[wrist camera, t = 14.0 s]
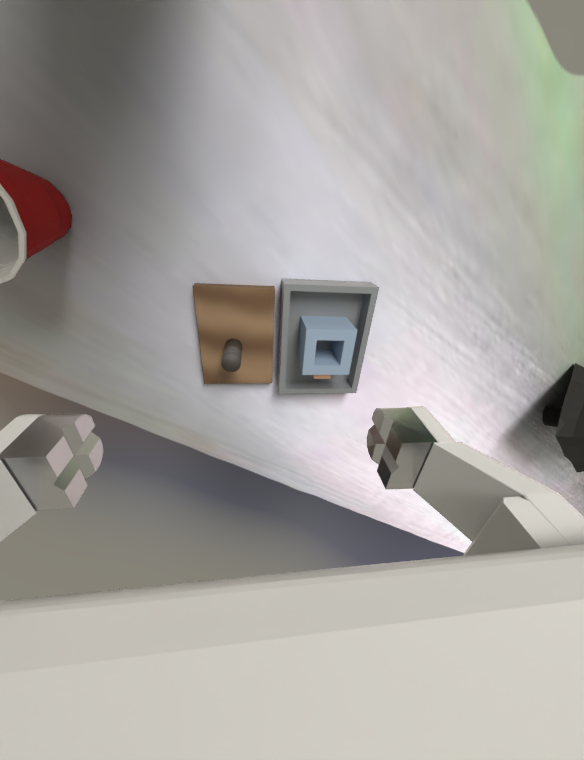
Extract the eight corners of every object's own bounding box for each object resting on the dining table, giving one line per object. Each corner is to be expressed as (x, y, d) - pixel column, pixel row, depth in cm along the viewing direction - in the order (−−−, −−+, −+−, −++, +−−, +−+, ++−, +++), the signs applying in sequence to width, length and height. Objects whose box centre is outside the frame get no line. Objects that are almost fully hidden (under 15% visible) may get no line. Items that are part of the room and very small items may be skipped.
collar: (300, 315, 38) (306, 329, 34) (346, 316, 39) (357, 330, 35) (296, 366, 43) (301, 384, 38) (338, 366, 44) (347, 383, 39)
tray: (282, 278, 36) (284, 283, 34) (370, 282, 38) (378, 287, 35) (277, 383, 45) (279, 393, 42) (350, 382, 46) (356, 392, 44)
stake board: (195, 283, 35) (184, 297, 30) (274, 286, 37) (277, 300, 31) (205, 378, 43) (198, 403, 37) (271, 377, 44) (274, 402, 38)
